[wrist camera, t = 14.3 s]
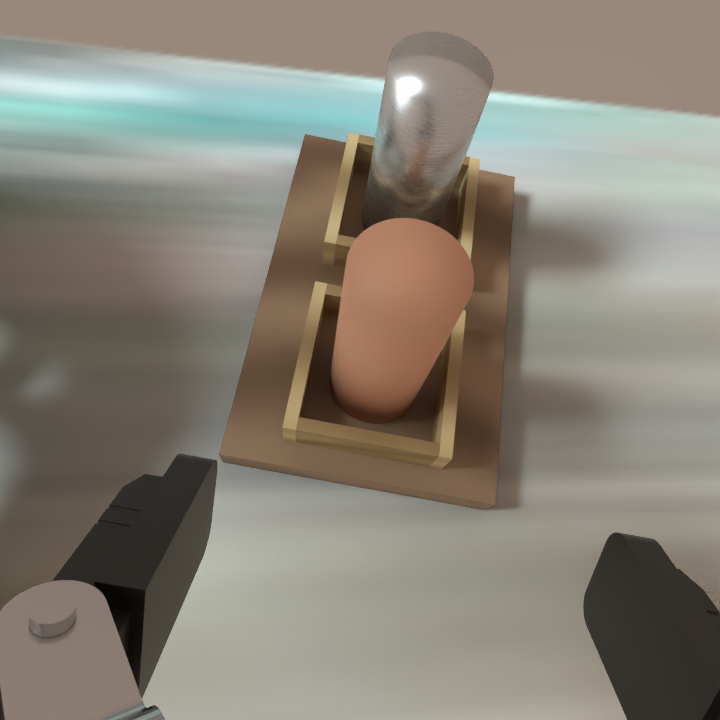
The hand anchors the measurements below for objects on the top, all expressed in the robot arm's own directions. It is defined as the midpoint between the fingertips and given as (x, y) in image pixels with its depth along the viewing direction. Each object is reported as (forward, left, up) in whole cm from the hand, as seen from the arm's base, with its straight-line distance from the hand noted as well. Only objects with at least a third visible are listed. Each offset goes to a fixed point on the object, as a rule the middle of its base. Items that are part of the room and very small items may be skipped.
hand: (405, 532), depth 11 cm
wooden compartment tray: (-8, +11, -16) cm, 21 cm away
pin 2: (-5, +7, -14) cm, 17 cm away
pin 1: (-11, +16, -14) cm, 24 cm away
